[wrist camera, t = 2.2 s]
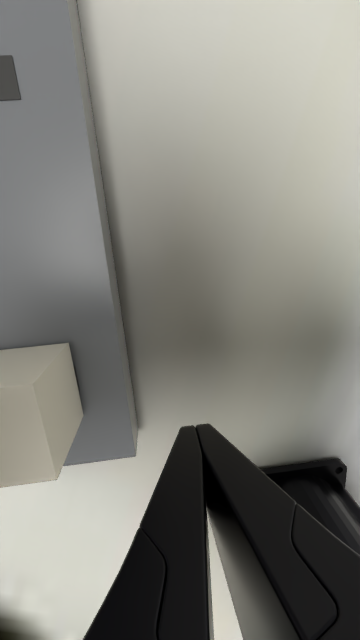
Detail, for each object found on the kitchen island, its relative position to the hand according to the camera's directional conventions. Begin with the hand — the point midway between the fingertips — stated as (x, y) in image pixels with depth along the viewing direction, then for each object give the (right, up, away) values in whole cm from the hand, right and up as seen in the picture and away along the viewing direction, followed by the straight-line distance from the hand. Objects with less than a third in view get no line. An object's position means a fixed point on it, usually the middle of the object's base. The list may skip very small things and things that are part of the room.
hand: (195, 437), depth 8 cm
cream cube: (-7, +1, +4) cm, 8 cm away
